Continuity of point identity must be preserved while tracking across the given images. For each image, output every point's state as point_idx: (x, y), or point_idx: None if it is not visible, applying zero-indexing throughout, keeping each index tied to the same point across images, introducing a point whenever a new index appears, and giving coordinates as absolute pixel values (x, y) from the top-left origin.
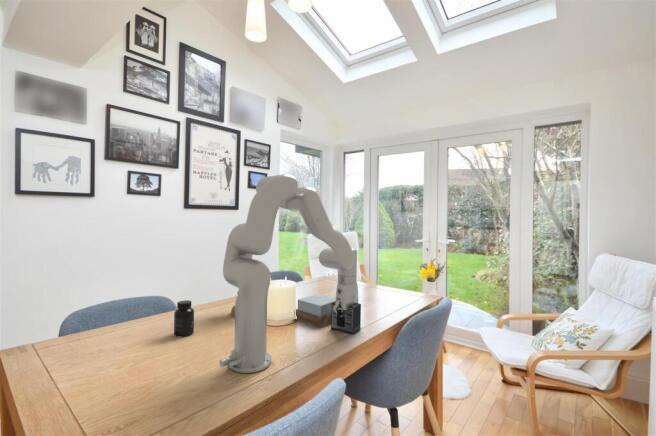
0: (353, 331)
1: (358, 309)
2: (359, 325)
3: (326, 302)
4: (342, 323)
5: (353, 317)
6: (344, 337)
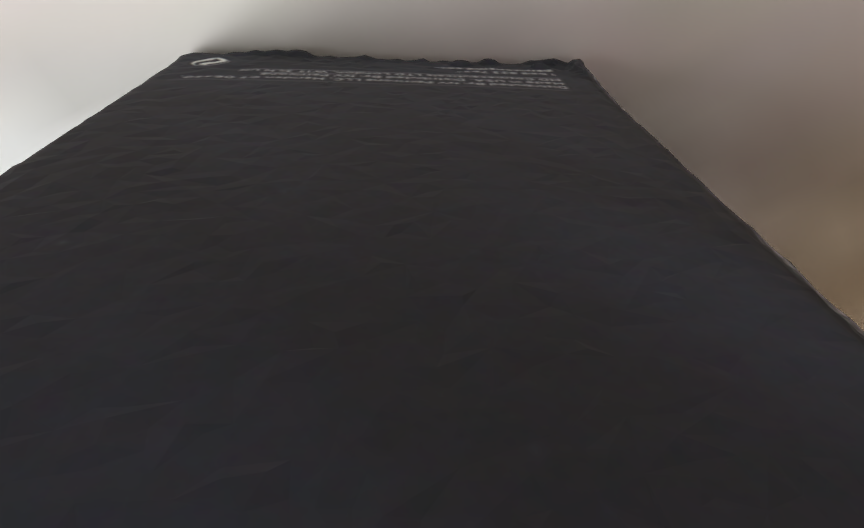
0: (599, 87)
1: (159, 447)
2: (235, 79)
3: None
4: None
5: (786, 267)
6: (832, 169)
